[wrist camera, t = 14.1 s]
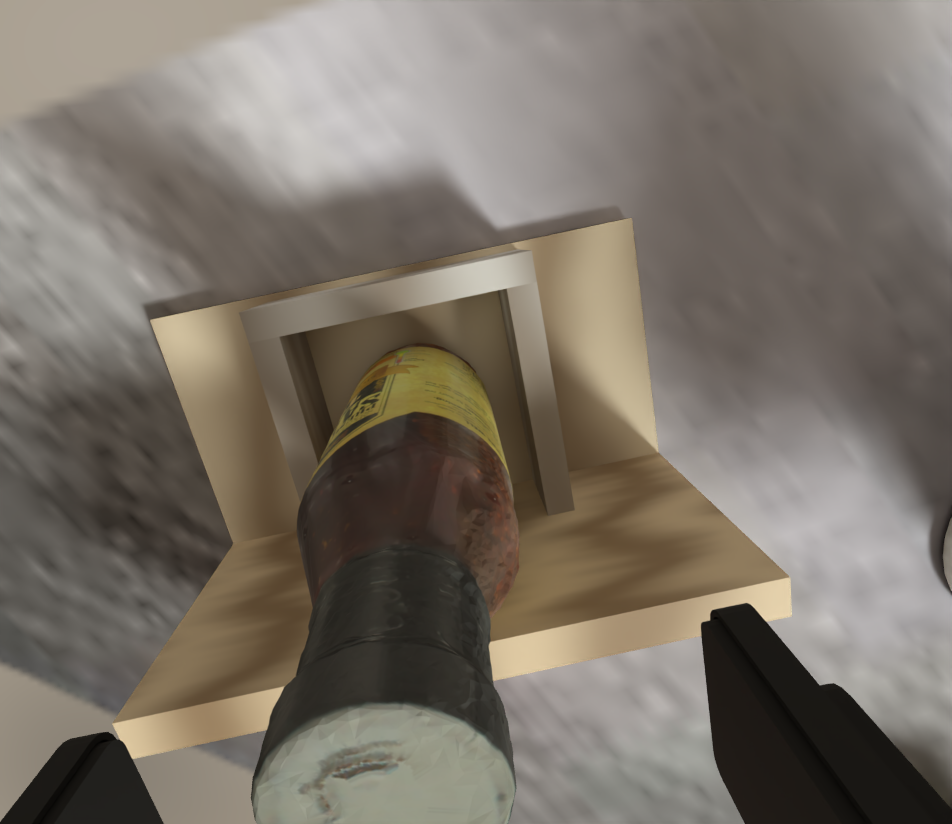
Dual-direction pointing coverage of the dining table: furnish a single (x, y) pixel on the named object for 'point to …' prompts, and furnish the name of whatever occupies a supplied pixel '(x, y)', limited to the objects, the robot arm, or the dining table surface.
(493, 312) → the condiment rack
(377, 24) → the dining table surface
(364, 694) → the sauce bottle
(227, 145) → the dining table surface
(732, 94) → the dining table surface
